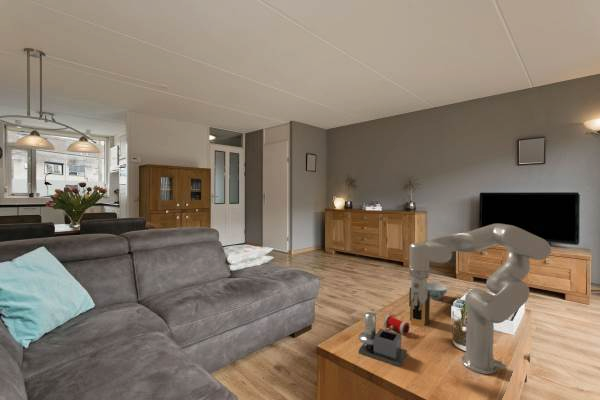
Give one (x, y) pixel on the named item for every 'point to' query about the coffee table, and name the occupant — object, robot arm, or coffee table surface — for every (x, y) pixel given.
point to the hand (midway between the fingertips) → (418, 316)
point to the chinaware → (436, 290)
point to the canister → (427, 307)
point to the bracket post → (381, 343)
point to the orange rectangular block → (421, 322)
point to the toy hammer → (396, 324)
